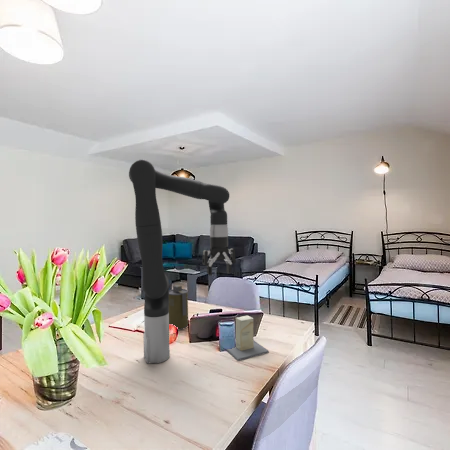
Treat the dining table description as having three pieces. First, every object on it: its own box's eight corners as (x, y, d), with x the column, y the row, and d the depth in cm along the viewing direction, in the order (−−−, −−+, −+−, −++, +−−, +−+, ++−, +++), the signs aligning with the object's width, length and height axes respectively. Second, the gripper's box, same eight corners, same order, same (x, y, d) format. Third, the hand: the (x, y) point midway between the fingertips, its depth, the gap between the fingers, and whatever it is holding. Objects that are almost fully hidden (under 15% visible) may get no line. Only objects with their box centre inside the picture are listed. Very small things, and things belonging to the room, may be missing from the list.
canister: (163, 326, 144) (162, 286, 143) (181, 320, 151) (180, 282, 151) (175, 332, 136) (174, 290, 136) (193, 326, 143) (192, 286, 143)
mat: (237, 361, 108) (237, 358, 108) (221, 346, 121) (221, 344, 121) (268, 352, 115) (268, 350, 115) (249, 339, 127) (249, 337, 127)
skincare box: (240, 351, 114) (240, 320, 114) (235, 347, 118) (234, 317, 118) (254, 347, 117) (253, 318, 117) (248, 343, 121) (247, 314, 121)
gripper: (230, 234, 127) (230, 271, 127) (199, 235, 120) (200, 274, 121) (238, 235, 120) (238, 274, 121) (206, 236, 114) (207, 277, 114)
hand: (219, 274), depth 121 cm, fingers open, 8 cm apart
